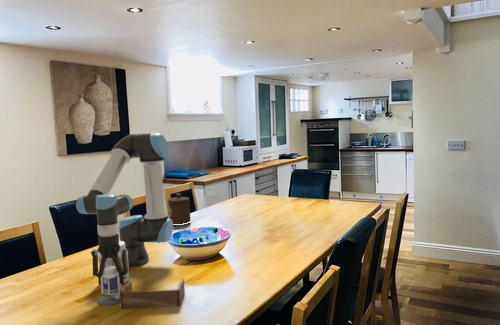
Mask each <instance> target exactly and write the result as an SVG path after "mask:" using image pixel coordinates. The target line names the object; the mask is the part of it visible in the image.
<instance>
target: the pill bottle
mask: <svg viewBox="0 0 500 325" xmlns="http://www.w3.org/2000/svg"><path fill="white" fill-rule="evenodd" d="M116 271H117V269H116V266H110V267H106V268H105V269H104V272H105V274H104V276H103V279H104V292H105V293H104V295H105V294H106V295H114V294H117V293H118V282H117V277H118V275H119V274H118V272H116Z"/></svg>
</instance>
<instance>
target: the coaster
mask: <svg viewBox="0 0 500 325" xmlns="http://www.w3.org/2000/svg"><path fill="white" fill-rule="evenodd" d="M97 298H98V299H97V303H98V304H99V305H101V306H113V305H118V304H121V303H120V293H117V294H114V295H106V294H105V293H104V294H101V296H99V297H97Z"/></svg>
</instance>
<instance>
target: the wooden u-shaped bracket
mask: <svg viewBox="0 0 500 325" xmlns="http://www.w3.org/2000/svg"><path fill="white" fill-rule="evenodd" d="M132 282H133V281H132V280H128V281H127V282H126V284H125V286H124V287H122V291H121V292H120V302H121V303H120V309H124V310H125V309H141V308H142V309H145V308H164V307H165V308H167V307H168V308H169V307H181V304H182V301H183V298H184V296H185V291H186V290H185V278H181V279H180V281H179V284H178V286H177V289H159V290H158V289H157V290H156V289H155V290H140V291H138V290H134V291H133V283H132Z"/></svg>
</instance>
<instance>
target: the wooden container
mask: <svg viewBox="0 0 500 325" xmlns="http://www.w3.org/2000/svg"><path fill="white" fill-rule="evenodd" d="M167 200H168V219H172V222H173V224H183V223H187V222H189V221H191V209H190V197H187V196H182V193H179V192H177V193H176V194H175V197H170V198H168V199H167Z"/></svg>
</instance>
